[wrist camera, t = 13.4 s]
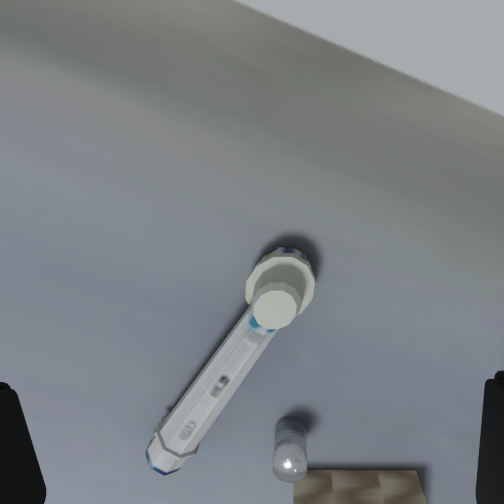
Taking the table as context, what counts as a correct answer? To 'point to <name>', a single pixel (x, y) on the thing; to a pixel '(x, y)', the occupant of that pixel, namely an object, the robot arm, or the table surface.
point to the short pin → (290, 450)
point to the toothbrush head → (234, 355)
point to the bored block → (359, 487)
